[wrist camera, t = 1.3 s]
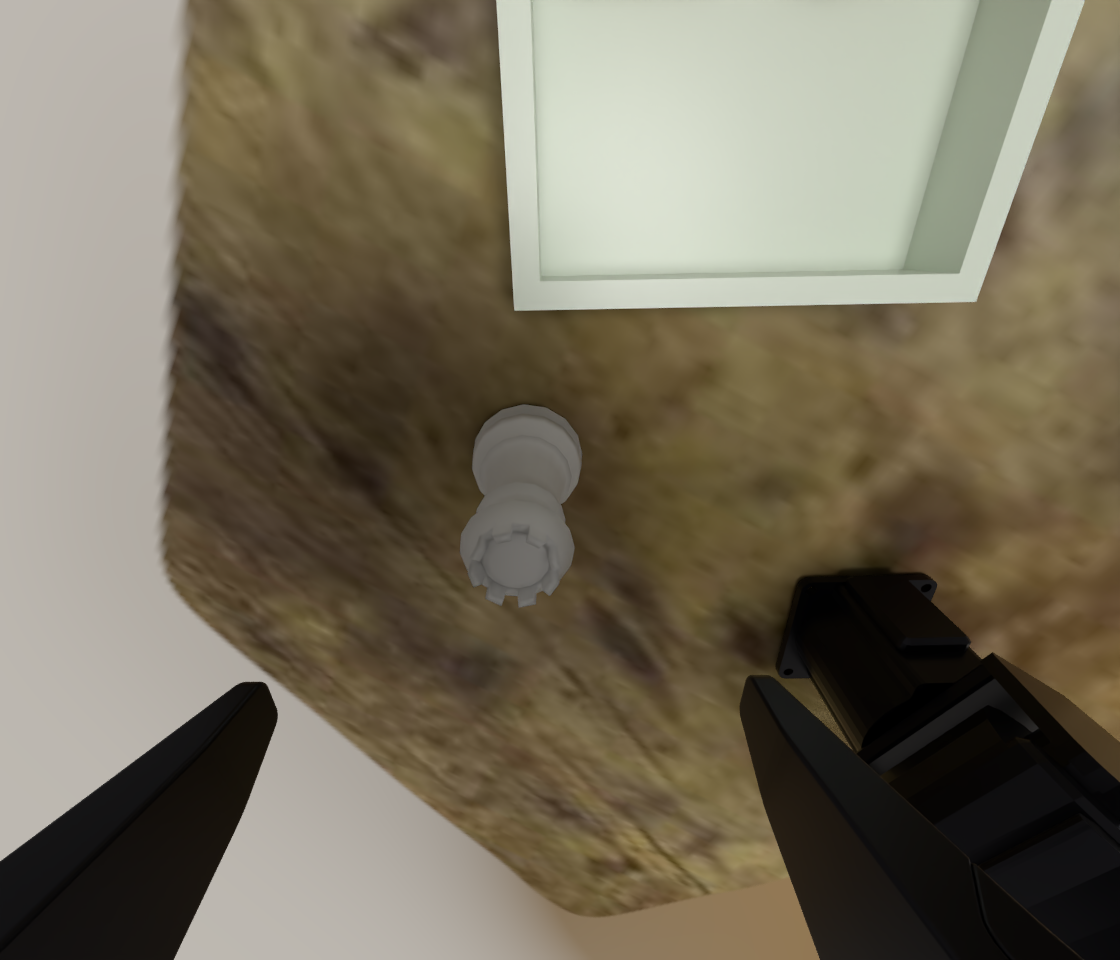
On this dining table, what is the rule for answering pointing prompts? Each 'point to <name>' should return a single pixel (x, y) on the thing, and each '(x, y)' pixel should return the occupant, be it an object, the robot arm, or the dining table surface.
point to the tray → (767, 146)
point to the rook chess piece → (522, 504)
